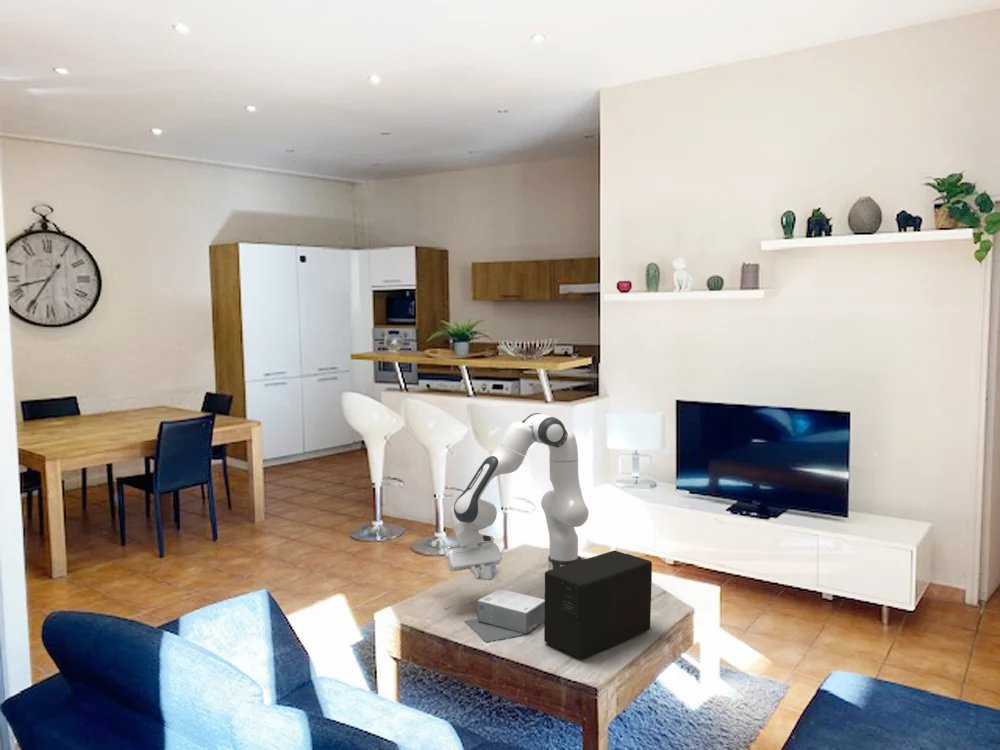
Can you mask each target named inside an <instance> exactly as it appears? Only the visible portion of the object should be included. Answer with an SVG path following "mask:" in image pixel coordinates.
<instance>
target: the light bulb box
mask: <svg viewBox="0 0 1000 750" xmlns="http://www.w3.org/2000/svg"><path fill="white" fill-rule="evenodd" d="M475 570H476V571H477V573H478V572H481V570H480V569H479V568H475ZM495 572H496V573H497V565H492V566H486V567H485V568H484V572H483V573H484V578H480V579H479V580H489V579H491V580H492V579H493V577H494V576H495V574H496V573H495ZM493 575H494V576H493Z"/></svg>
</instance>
